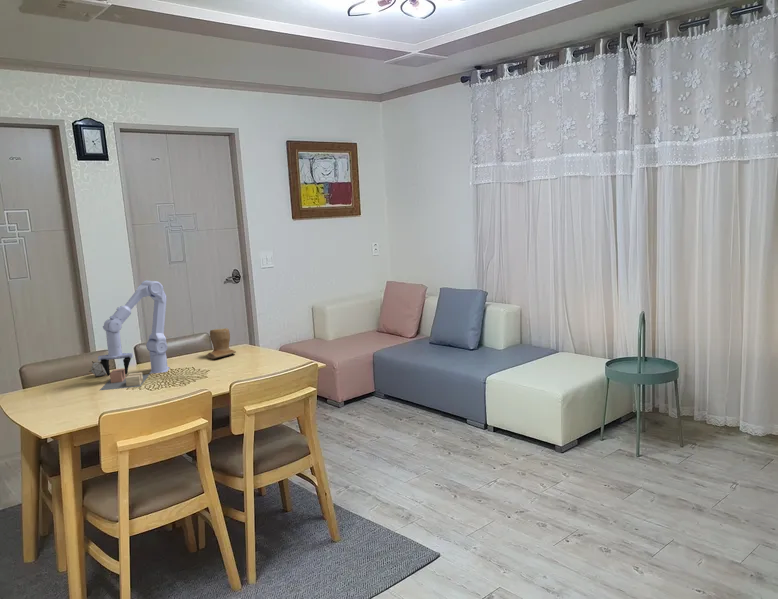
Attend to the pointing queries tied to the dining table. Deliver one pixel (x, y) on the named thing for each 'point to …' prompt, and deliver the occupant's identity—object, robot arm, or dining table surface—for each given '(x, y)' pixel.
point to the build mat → (121, 384)
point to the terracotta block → (117, 375)
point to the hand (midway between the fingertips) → (117, 374)
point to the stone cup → (220, 343)
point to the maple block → (134, 379)
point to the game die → (98, 369)
